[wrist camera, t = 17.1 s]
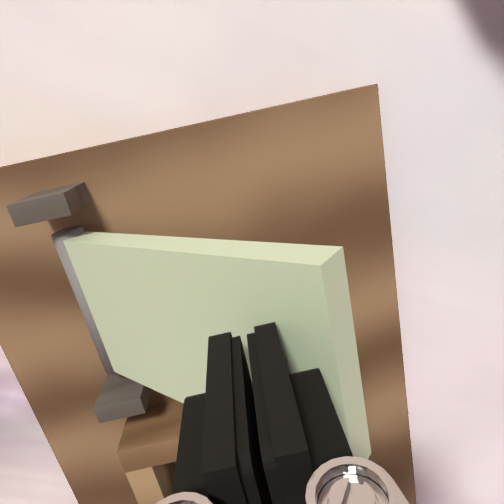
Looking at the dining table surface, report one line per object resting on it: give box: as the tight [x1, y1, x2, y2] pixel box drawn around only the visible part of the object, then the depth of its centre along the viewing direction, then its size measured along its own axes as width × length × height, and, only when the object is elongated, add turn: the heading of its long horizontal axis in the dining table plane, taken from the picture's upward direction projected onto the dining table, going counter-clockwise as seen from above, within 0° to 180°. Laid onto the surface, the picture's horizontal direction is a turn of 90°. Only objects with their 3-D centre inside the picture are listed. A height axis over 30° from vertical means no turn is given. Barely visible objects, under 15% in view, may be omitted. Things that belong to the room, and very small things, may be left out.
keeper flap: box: [51, 226, 371, 460], centre depth 13 cm, size 6×1×12 cm
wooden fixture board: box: [0, 84, 416, 504], centre depth 19 cm, size 24×18×4 cm
